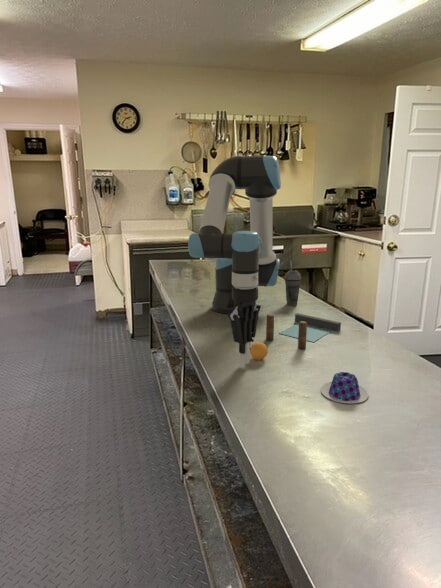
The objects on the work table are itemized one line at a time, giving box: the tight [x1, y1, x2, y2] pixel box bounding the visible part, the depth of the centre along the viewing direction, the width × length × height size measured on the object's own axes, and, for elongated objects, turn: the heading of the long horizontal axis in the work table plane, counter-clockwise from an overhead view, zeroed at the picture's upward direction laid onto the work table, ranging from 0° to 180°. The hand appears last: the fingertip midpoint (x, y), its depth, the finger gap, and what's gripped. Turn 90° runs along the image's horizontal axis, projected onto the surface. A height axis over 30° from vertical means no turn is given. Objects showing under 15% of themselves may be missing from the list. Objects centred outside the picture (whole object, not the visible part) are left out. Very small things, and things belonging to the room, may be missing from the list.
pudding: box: [320, 371, 369, 404], centre depth 113 cm, size 12×12×5 cm
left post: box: [265, 313, 275, 342], centre depth 150 cm, size 3×3×9 cm
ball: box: [250, 341, 269, 361], centre depth 134 cm, size 6×6×6 cm
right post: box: [297, 321, 307, 351], centre depth 142 cm, size 3×3×9 cm
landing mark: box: [278, 322, 332, 343], centre depth 157 cm, size 14×14×1 cm
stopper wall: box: [294, 313, 342, 333], centre depth 164 cm, size 18×2×3 cm, turn 51°
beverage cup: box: [284, 259, 302, 307], centre depth 189 cm, size 7×7×20 cm
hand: (244, 362), depth 129 cm, fingers closed
